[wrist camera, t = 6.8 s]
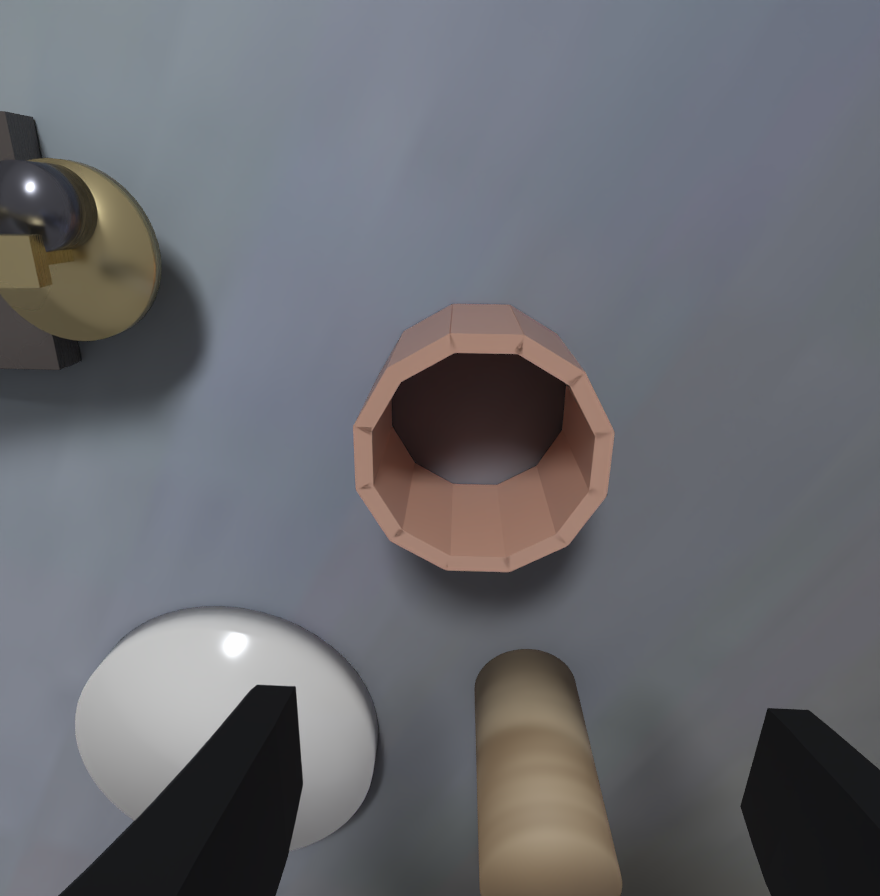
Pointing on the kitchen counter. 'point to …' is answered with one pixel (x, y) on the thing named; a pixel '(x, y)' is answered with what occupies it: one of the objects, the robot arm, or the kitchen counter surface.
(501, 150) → the kitchen counter surface
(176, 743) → the white glossy domed part
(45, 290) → the balance
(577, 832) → the peg
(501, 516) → the sleeve
